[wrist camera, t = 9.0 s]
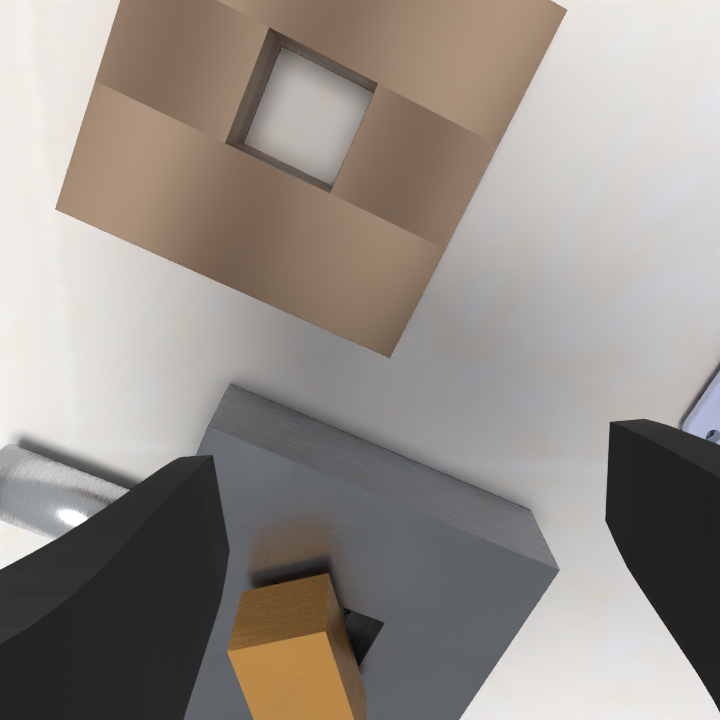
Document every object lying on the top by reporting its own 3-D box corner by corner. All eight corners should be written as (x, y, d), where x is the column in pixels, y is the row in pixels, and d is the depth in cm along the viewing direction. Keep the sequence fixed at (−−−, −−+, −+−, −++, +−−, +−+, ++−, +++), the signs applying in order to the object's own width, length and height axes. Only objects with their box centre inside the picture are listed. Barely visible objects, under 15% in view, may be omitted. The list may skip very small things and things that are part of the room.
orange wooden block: (364, 611, 25) (368, 763, 19) (295, 625, 25) (277, 780, 19) (332, 504, 23) (325, 631, 17) (259, 520, 24) (227, 651, 17)
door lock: (530, 510, 24) (560, 569, 20) (389, 733, 27) (394, 815, 24) (60, 312, 21) (5, 343, 18) (-31, 587, 24) (-91, 656, 21)
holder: (534, 31, 18) (567, 9, 16) (384, 329, 21) (389, 358, 18) (212, -147, 17) (184, -206, 14) (97, 200, 20) (55, 209, 17)
